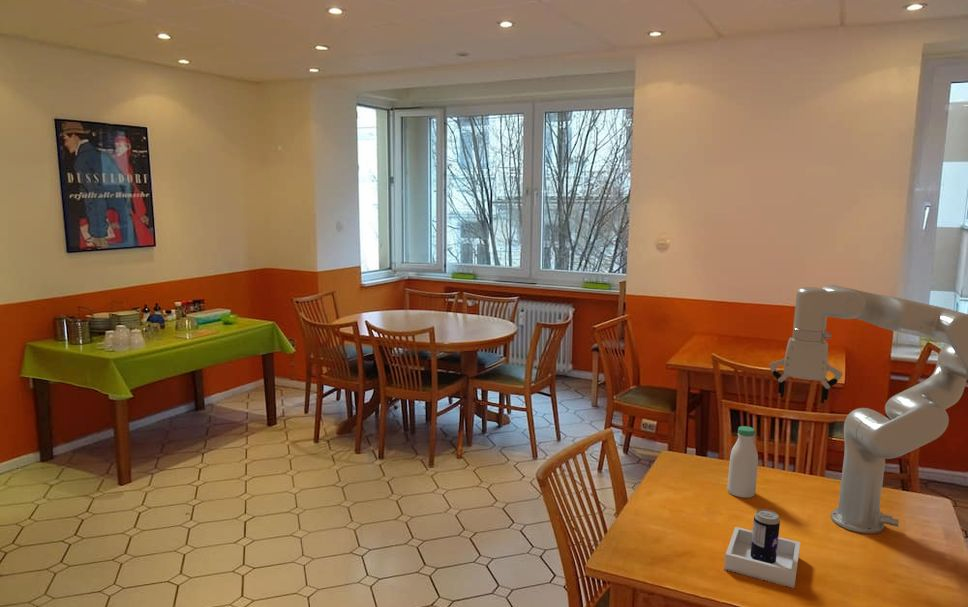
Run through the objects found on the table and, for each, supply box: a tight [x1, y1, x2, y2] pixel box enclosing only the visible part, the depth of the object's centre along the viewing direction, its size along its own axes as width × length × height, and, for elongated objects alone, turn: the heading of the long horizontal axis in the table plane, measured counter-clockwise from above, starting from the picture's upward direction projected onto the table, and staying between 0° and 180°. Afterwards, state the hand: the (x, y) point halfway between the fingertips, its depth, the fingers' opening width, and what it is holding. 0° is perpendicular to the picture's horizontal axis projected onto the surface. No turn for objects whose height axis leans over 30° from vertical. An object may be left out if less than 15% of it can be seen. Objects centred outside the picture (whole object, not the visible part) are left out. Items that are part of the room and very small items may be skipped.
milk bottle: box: [727, 425, 759, 499], centre depth 195 cm, size 8×8×20 cm
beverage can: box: [750, 509, 781, 564], centre depth 158 cm, size 6×6×12 cm
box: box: [724, 526, 801, 589], centre depth 159 cm, size 15×15×4 cm
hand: (802, 398), depth 175 cm, fingers open, 9 cm apart
